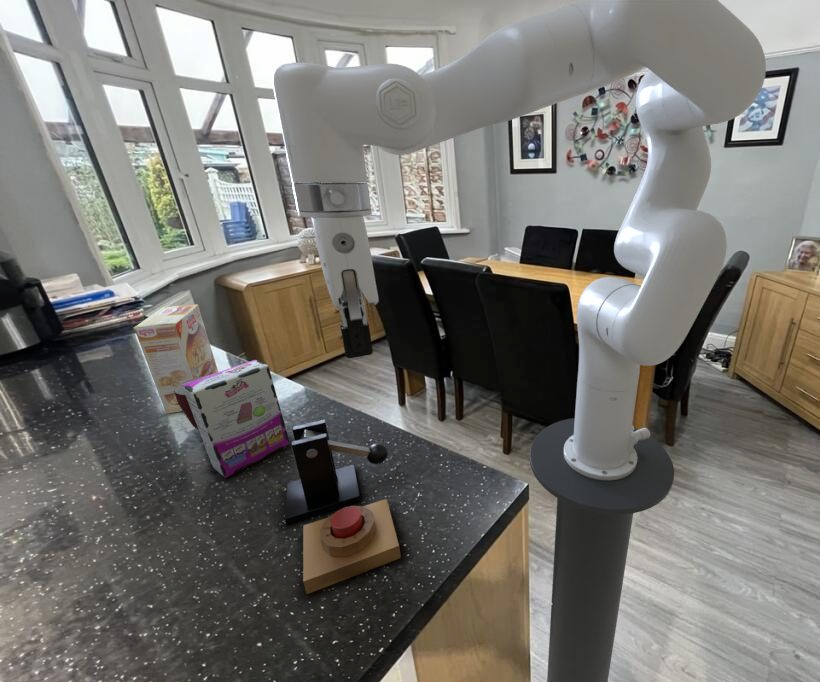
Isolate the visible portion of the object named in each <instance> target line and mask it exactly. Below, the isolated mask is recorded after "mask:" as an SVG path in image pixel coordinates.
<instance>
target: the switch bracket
mask: <svg viewBox="0 0 820 682" xmlns="http://www.w3.org/2000/svg"><path fill="white" fill-rule="evenodd" d="M291 429H292V434H293V438H294V440H293V441H291V448H292V453H293V456H294V460H295V464H296V468H297V472H298V476H299V479H296V480H293V481H290V482H287V483H286V490H285V491H286V494H285V511H284V513H285V514H284V520H285V524H286V526H290V525H292V524H295V523H298V522H302V521H305V520H308V519H311V518H314V517H318V516H321V515H324V514H327V513H331V512H333V511H338V510H341V509H343V508H345V507H350V506H353V505H356V504H359V503H361V502H362V500H361V495H360V488H359V484H358V478H357V472H356V467H355V464H350V465H346V466H344V467H340V468H337V469H336V464H335V460H334V456H333V451H331V450H330V448H329V444H328V440H330V436H329V432H328V427H327V423H326V419H321V420H316V421H313V422H308V423H303V424H299V425H295V426H292V428H291ZM304 430H310V431H315V432H321V433H324V434H322V435H318V436H314V437H309V438H305V439H301V436H302V434H303V432H304ZM300 439H301V440H300Z"/></svg>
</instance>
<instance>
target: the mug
mask: <svg viewBox="0 0 820 682" xmlns="http://www.w3.org/2000/svg"><path fill="white" fill-rule="evenodd" d="M208 376H209V375H208ZM203 377H206V376H202V377H198V378H194V379H191V380H188V381H186V382H184V383H182V384H180V385H179V386H177V387H176V388H175V390H174V393H175V396H176V399H177V402H178V404H179V406H180V407H181V409H182V411H181V412H183V414H184V416H185V417H186V418H187V420H188V421H189V422H190V424H191V425H192V427H194V428H195V429H196V430H198V431H199V429H198V427H197V424H196V421H195V419H194V416H193V413H192V411H191V408H190V405H189V403H188V400H187V398H186V395H185V393H184V390H183V387H182V385H183V384H186V383H189V382H192V381H195V380H197V379H200V378H203Z"/></svg>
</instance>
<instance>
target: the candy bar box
mask: <svg viewBox="0 0 820 682" xmlns="http://www.w3.org/2000/svg"><path fill="white" fill-rule="evenodd" d="M182 387H183V390H184V393H185V395H186V398H187V400H188V403H189V405H190V408H191V411H192V413H193V416H194V419H195V421H196V424H197V427H198V429H199V430H198V429H197V430H198V431H199V435H200V437H201V439H202V442H203V445H204V448H205V450H206V453H207V455H208V458H209V461H210V464H211V466H212V469H214V470H215V471H216V472H218V473H219V474H220V475H221V476H222V477H224V478H225V479H226V478H229V477H231V476H233V475H235V474H237V473H238V472H240V471H242V470H244V469H246V468H248V467H249V466H252V465H253V464H255V463H257V462H259V461H262V460H263V459H264V458H266V457H268V456H270V455H272V454H273V453H275V452H277V451H279V450H282V449H283V448H285V447H287V446H289V445H290V444H291V442H290V437H289V434H288V430H287V427H286V423H285V420H284V416H283V413H282V409H281V406H280V403H279V398H278V394H277V392H276V388H275V384H274V381H273V378H272V372H271V369H270V367H269V365H268V364H265V363H263V362H261V361H259V360H257V359H253V360H250V361H247V362H244V363H241V364H239V365H235V366H232V367H230V368H227V369H223V370H220V371H218V373H215V374H212V375H209V376H206V377H203V378H200V379H197V380H195V381H192V382H189V383H186V384H183V385H182Z"/></svg>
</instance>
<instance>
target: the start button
mask: <svg viewBox="0 0 820 682" xmlns="http://www.w3.org/2000/svg"><path fill="white" fill-rule="evenodd" d="M338 510H339V511H338ZM338 510H336V511H335V512H336V513H335V512H334V513H335V514H334V513H333V514H334V515H333V514H332V515H333V517H332V519H331V526H332V530H333V534H334V535H335V536H336V537H337V538H341V539H344V538H348V537H351V536H354V535H355V534H356V533H358V532H359V531H360V529H361V528H362V525H363V521H362V516H361V512H360V510H359V509H358V508H356V507H350V506H346V507H343V508H340V509H338Z"/></svg>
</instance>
